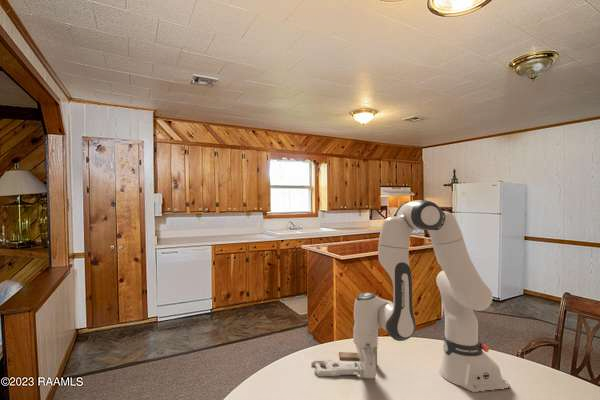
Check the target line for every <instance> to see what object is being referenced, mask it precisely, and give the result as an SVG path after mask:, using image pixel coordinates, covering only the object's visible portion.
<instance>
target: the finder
mask: <svg viewBox="0 0 600 400" xmlns="http://www.w3.org/2000/svg"><path fill="white" fill-rule="evenodd" d="M357 364H358V366H357V369H358V370H359V371H360V374H358V375H359V378H364V377H363V374H362V365H361V362H360V361H359V362H357Z"/></svg>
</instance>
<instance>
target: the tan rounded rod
mask: <svg viewBox="0 0 600 400" xmlns="http://www.w3.org/2000/svg"><path fill="white" fill-rule="evenodd" d="M373 352H374V354H375V360H376V367H377V365H378V345H377V346H376V347H374V349H373Z"/></svg>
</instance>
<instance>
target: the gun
mask: <svg viewBox="0 0 600 400" xmlns="http://www.w3.org/2000/svg"><path fill="white" fill-rule="evenodd" d="M311 367H315V369H314V374H315V375H316V376H317V377H339V376H352V375H353V376H354V375H355V376H357V375H359V374H360V371H359V370H358V362H341V361H337V360H334V359H332V358H329V357H327V358H315V359H314V360H313V361H312V362H311ZM322 367H325V368H322Z"/></svg>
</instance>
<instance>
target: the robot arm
mask: <svg viewBox="0 0 600 400" xmlns="http://www.w3.org/2000/svg"><path fill="white" fill-rule="evenodd" d="M380 228H381V229H380V232H379V237H378V247H377V255H378V257H377V258H378V262H379V264H380V265H381V266H382V268H384V270H385V272H386V273H387V274H388V275H389V278H390V279H391V282H392V287H393V288H392V289H393V290H392V291H393V295H392V296H393V299H392V300H393V301H391V300H388V299H384V298H382V297H379V296H378V295H376V294H375V293H374V292H362V293H360V294H358V295H357V296H356V297H355V300H354V306H353V307H354V308H353V320H354V326H353V336H352V338H353V340H352V341H353V343H354V345H355V347H356V348H355V349H356V353H358V355H359V359H360V360H359V362H361V365H362V374H363V377H362V378H365V379H375V378H376V375H377V366H376V360H375V354H374V352H373V349H374V347H376V346H377V347H378V344H379V342H378V341H379V329H380V328H382V329H383V330H385V332H387V333H388V335H389V337H391V338H392V339H393V340H394V341H396V342H404V341H407V340H409V339H411V338H412V337H413V335H414V334H415V331H416V328H417V323H416V318H415V315H414V309H413V278H412V277H413V276H412V270H411V266H410V259H409V257H410V255H409V252H410V239H411V235H412V234H413V232H414V231H415V230H421V231H422V230H423V231H427V233H428V234H429V237H430V240H431V241H430V242H431V244H432V248H433V251H434V255H435V258H436V261H437V263H438V264H439V266H440V268H441V269H442V270H440V271H439V272H438V274H437V276H436V277H435V279H436V280H435V282H436V285H437V288H438V291H439V293H440V297H441V302H442V307H443V313H444V334H443V342H442V347H443V356H442V362H441V365H440V367H439V373H440V375H441V376H442V377H443V378H444V379H446V380H447V382H450V383H452V384H454V385H456V386H459V387H462V388H464V389H466V390H468V391H470V392H472V393H479V391H481V392H486V391H485V390H492V391H495V390H494V389H502V388H503V390H505V389H504V388H508V387H509V388H510V384H509V381H507V379H506V378H505V377H504V376H503V374H502V373H501V369H500V366H499V365H498V364H497V363H496V361H495V360H494V359H493V358H491V357H490V356H489V355H488V354H487V353H488V352H489V351H490V348H489V346H487V345H486V344H485V343H484V344H483V343H482V342H481V341H480V340H479V322H478V321H479V320H478V318H477V316H476V315H475V313H474V311H479V312H481V311H485V310H486V309H488V308H489V307H490V306H491V304H492V302H493V293H492V290H491V289H490V288H489V286H487V284H486V283H485V282H484V281H483V279H482V277H481V276H480V274H479V272H478V270H477V269H476V267H475V265H474V263H473V262H472V260H471V257H470V255H469V252H468V249H467V246H466V243H465V240H464V239H465V238H464V237H463V236H464V235H463V233H462V229H461V228H460V225H459V223H458V221H457V220H456V217H455V215H454V213H452V212H450V211H446V210H442V209H441V207H440V206H439V205H438V204H436V203H435V202H433V201H430V200H422V199H419V200H417V199H416V200H415V199H414V200H411V201H406V202H403V203H402V204H401V205H399V207H398V208H397V210H396V212H395V213H394V214H393V216H388V217H387V218H384V220H383V222H382V224H381V227H380ZM505 382H506V383H505Z"/></svg>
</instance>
